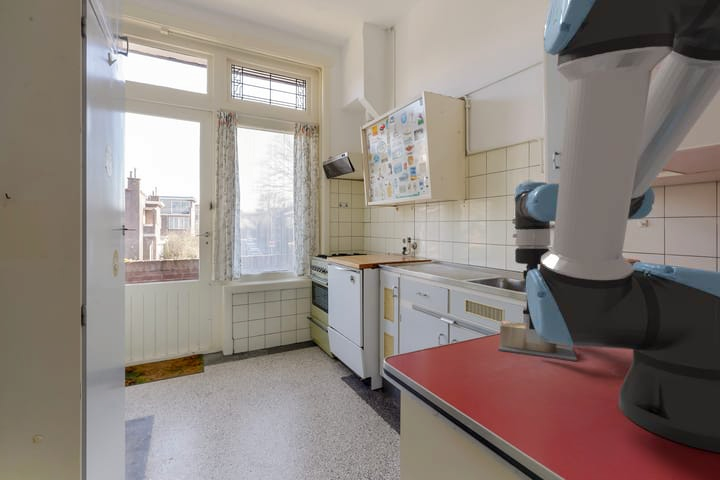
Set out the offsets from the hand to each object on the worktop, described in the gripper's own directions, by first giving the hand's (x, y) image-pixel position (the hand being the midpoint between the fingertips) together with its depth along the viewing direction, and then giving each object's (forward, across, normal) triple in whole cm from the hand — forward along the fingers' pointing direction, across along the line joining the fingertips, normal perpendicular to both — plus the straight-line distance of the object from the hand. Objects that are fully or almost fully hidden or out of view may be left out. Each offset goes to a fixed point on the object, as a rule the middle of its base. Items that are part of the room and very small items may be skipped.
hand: (532, 335), depth 81 cm
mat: (+3, 0, +1) cm, 3 cm away
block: (0, 0, -7) cm, 7 cm away
